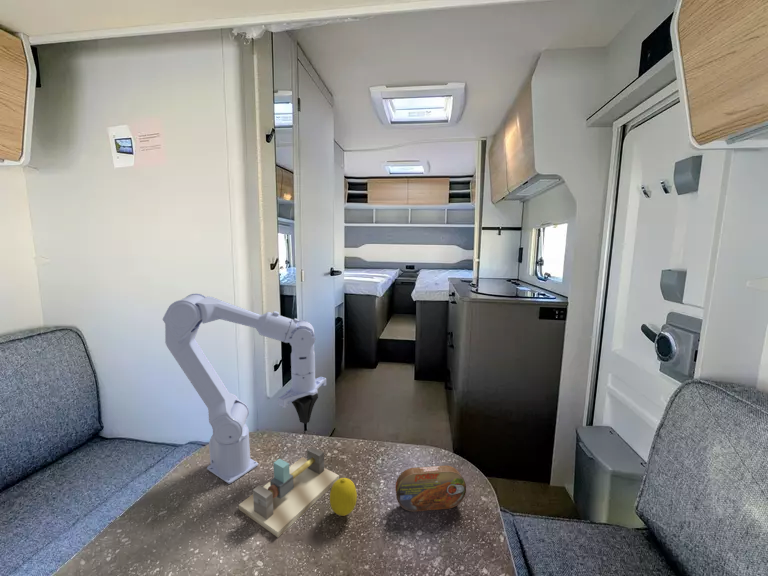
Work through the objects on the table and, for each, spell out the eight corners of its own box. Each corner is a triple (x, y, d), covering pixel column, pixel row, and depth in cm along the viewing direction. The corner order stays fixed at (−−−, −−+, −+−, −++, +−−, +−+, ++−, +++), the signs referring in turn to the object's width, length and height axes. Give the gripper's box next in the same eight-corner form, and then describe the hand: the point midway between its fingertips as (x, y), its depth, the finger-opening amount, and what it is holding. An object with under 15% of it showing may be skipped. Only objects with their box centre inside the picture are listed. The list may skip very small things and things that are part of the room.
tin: (395, 513, 68) (396, 476, 67) (394, 501, 71) (394, 466, 70) (465, 508, 70) (467, 472, 68) (461, 496, 73) (462, 462, 72)
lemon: (352, 527, 65) (352, 491, 63) (325, 522, 66) (325, 486, 64) (360, 505, 70) (360, 471, 69) (335, 501, 71) (335, 468, 70)
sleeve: (280, 499, 68) (279, 470, 67) (270, 493, 70) (269, 465, 69) (293, 488, 71) (292, 460, 70) (284, 482, 73) (283, 455, 72)
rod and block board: (278, 537, 62) (276, 509, 61) (239, 509, 69) (237, 483, 68) (339, 479, 77) (338, 456, 76) (302, 461, 84) (302, 439, 83)
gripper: (292, 385, 73) (293, 441, 75) (335, 364, 85) (335, 413, 87) (271, 378, 76) (273, 431, 78) (314, 359, 89) (315, 406, 91)
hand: (304, 421), depth 83 cm, fingers closed
